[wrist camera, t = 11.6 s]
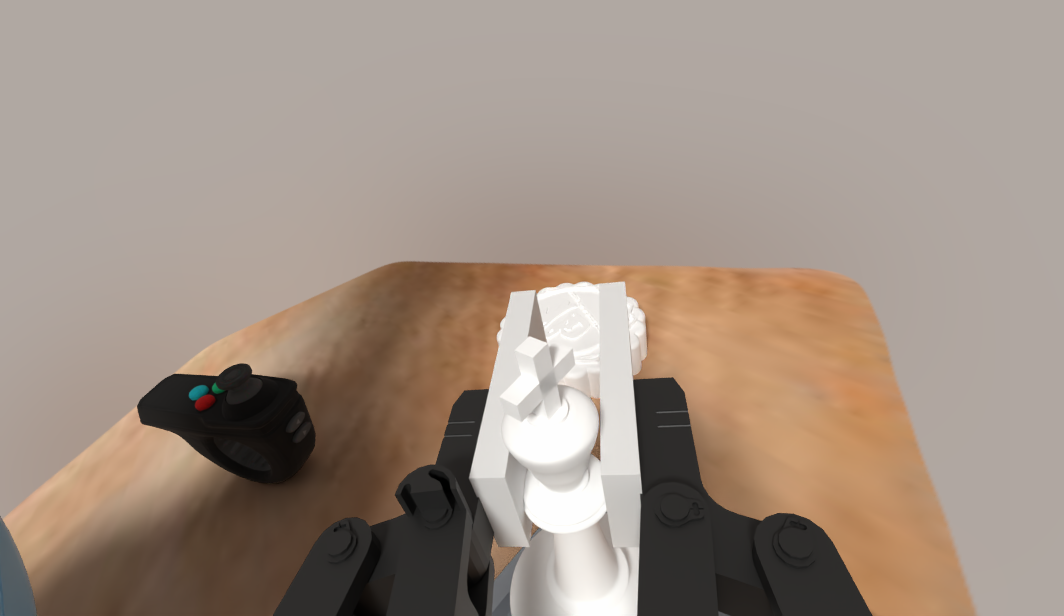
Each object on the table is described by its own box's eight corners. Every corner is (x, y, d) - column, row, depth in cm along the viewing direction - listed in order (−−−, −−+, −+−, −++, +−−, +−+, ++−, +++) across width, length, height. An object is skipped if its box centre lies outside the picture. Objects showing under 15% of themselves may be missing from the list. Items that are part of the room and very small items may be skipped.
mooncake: (488, 336, 46) (478, 305, 44) (607, 293, 48) (604, 261, 46) (530, 429, 36) (520, 395, 34) (677, 371, 38) (676, 335, 36)
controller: (318, 504, 34) (241, 404, 28) (186, 480, 38) (95, 388, 32) (352, 451, 37) (289, 352, 31) (227, 434, 41) (151, 343, 35)
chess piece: (478, 620, 15) (344, 385, 9) (573, 495, 18) (516, 252, 12) (621, 749, 12) (558, 527, 6) (709, 575, 15) (722, 306, 9)
